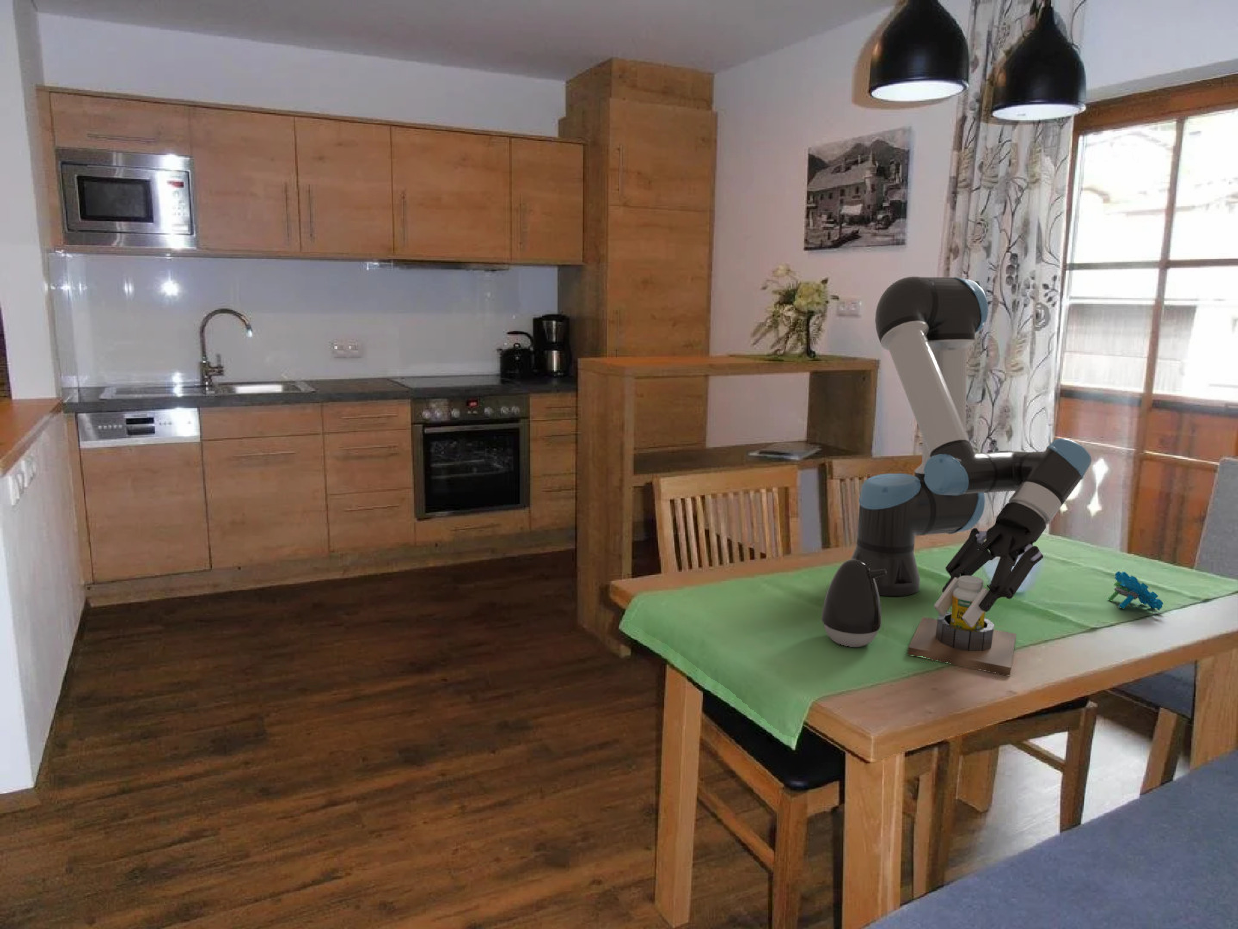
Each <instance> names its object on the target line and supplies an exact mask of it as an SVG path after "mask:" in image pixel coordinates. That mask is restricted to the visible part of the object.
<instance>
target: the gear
mask: <svg viewBox="0 0 1238 929" xmlns="http://www.w3.org/2000/svg"><path fill="white" fill-rule="evenodd" d="M1114 576H1115V577H1114V579H1115V580H1116V581H1115V582H1114V584H1113V586H1114V587H1115V588H1113V589H1114V592H1113V593H1112V594H1111V595H1110V596H1109V597H1108V598H1107V600H1108V599H1109V600H1108V601H1110V600H1112V601H1113V600H1115V599H1116V598H1117V596H1118V595H1121V596H1123V597H1126V598H1125V599H1124V600H1122V602H1121V603H1120V604H1119V605H1118V607H1119V608H1120V607H1121V608H1124V609H1125V608H1126V607H1127V606H1128V605H1129V604H1130V603H1131V602H1133V601H1136V600H1137V599H1138V600H1139V602H1140V603H1141V604H1142V603H1143V604H1142V605H1144V606H1146V605H1147V606H1148V607H1149V608H1150V607H1151V609H1152V608H1153V610H1155V609H1157V611H1160V610H1161V609H1162V608H1163V605H1164V603H1163V601H1162V600H1161V599H1160V598H1158V597H1159V595H1158V594H1157V593H1156V592H1155V591H1151V592H1150V591H1149V590H1148V589H1149V586H1148V585H1147V584H1145V583H1144V582H1142V583H1140V582H1139V580H1138V578H1137V577H1136V576H1134V575H1129V574H1128V573H1127V572H1126V571H1122V572H1121V571H1118V570H1117V572H1116V573H1115V574H1114ZM1121 608H1120V609H1121Z"/></svg>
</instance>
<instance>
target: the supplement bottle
mask: <svg viewBox="0 0 1238 929" xmlns="http://www.w3.org/2000/svg"><path fill="white" fill-rule="evenodd" d="M958 586H959V587H958V588H956V589H955V590H954V592H953V600H952V605H951V611H950V612H951V623H950V625H953V626H956V627H959V628H964V629H983V628H984V618H986V617H985V616H986V615H985V614H986V612H985V611H984V612H983V614H982V615H981V616H980V618H979V619H978V621H977V622H976V623H975V625H974V626H973V628H971V627H969V626H968V625H967V624H966V622H965V621H964V620H963V619H962V616H963V615H964V614H965V612H966V611H967V610H968V608H969V607H970V605H971V604H972V603H973V601H974V600H975V598H976V597H977V596H978V594H979V593H980V592H981V590H982V589H983V588H984V579H983V578H981V577H978V576H975V575H972V576H961V575H960V577H959V579H958Z"/></svg>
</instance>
